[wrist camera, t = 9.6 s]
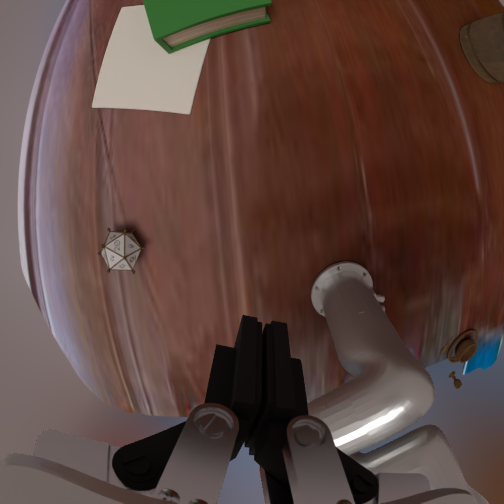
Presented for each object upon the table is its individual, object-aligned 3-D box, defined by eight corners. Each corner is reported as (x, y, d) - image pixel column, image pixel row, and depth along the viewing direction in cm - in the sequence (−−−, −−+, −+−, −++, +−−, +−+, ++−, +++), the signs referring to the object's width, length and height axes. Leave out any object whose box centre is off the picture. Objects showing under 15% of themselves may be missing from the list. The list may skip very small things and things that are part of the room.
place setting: (485, 329, 57) (495, 340, 51) (452, 377, 64) (459, 388, 59) (455, 325, 56) (465, 338, 50) (419, 378, 63) (426, 392, 58)
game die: (129, 231, 52) (92, 218, 43) (159, 234, 49) (121, 220, 40) (121, 274, 51) (82, 267, 42) (150, 281, 48) (110, 276, 39)
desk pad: (221, 5, 32) (221, 4, 31) (190, 114, 40) (189, 114, 40) (122, 8, 31) (121, 7, 30) (92, 107, 39) (91, 107, 38)
